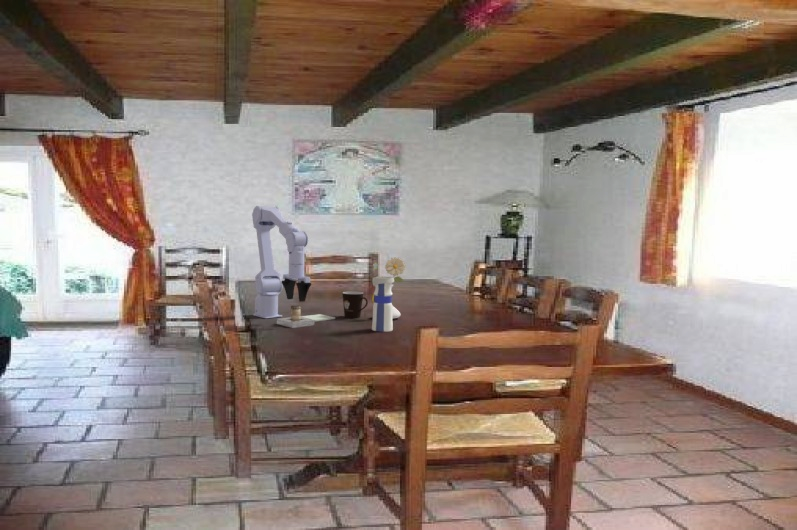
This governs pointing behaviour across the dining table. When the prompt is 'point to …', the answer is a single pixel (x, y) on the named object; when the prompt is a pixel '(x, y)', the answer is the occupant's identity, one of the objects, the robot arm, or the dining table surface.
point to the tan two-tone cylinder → (295, 313)
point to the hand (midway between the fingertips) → (296, 300)
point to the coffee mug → (353, 304)
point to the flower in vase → (395, 268)
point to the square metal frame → (295, 322)
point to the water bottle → (382, 303)
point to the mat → (319, 317)
